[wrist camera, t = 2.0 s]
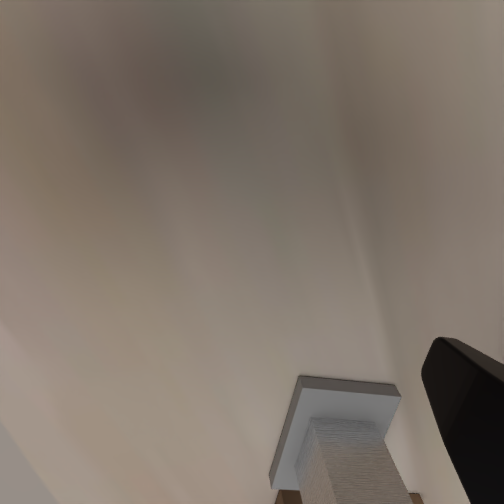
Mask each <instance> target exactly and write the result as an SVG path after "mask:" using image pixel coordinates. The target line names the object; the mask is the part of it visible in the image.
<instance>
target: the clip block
mask: <svg viewBox="0 0 504 504" xmlns="http://www.w3.org/2000/svg"><path fill="white" fill-rule="evenodd" d="M294 468H295V472H296V476H297V481H298V485H299V489H300V494H301V498H302V503H303V504H413V502H412V500H411V498H410V495H409V493H408V491H407V489H406V487H405V485H404V483H403V480H402V478H401V476H400V474H399V472H398V470H397V468H396V466H395V463H394V461H393V459H392V457H391V455H390V453H389V451H388V449H387V446H386V444H385V442H384V440H383V438H382V436H381V434H380V431H379V429H378V427H377V425H376V423H375V422H370V421H358V420H346V419H333V418H321V417H310V420H309V424H308V427H307V430H306V433H305V436H304V439H303V442H302V445H301V448H300V451H299V454H298V457H297V460H296V463H295V466H294Z"/></svg>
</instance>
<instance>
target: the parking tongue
mask: <svg viewBox="0 0 504 504" xmlns="http://www.w3.org/2000/svg"><path fill="white" fill-rule="evenodd" d="M400 399H401V395H400V394H399V392H398V390H397V388H396V387H395V385H386V384H376V383H366V382H355V381H345V380H335V379H324V378H314V377H304V376H299V378H298V381H297V385H296V388H295V391H294V394H293V398H292V401H291V404H290V408H289V411H288V414H287V418H286V421H285V424H284V428H283V431H282V434H281V437H280V441H279V444H278V447H277V451H276V454H275V457H274V461H273V464H272V467H271V470H270V474H269V478H270V484H271V489H282V490H300V489H299V485H298V481H297V476H296V472H295V468H294V466H295V463H296V460H297V457H298V454H299V451H300V448H301V445H302V442H303V439H304V436H305V433H306V430H307V427H308V424H309V420H310V417H321V418H333V419H346V420H358V421H370V422H375V423H376V425H377V427H378V429H379V431H380V434H381V436H382V438H383V440H384V437H385V435H386V433H387V430H388V428H389V426H390V423H391V421H392V418H393V416H394V414H395V411H396V409H397V406H398V404H399V402H400Z"/></svg>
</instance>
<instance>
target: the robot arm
mask: <svg viewBox="0 0 504 504" xmlns="http://www.w3.org/2000/svg"><path fill="white" fill-rule="evenodd" d="M421 376H422V381H423V384H424V387H425V390H426V393H427V396H428V399H429V402H430V405H431V408H432V411H433V414H434V417H435V420H436V422H437V425H438V428H439V431H440V434H441V437H442V440H443V442H444V445H445V447H446V449H447V452H448V454H449V456H450V459H451V461H452V463H453V465H454V468H455V470H456V472H457V474H458V476H459V479H460V481H461V483H462V485H463V488H464V490H465V492H466V494H467V496H468V499H469V501H470V503H471V504H504V364H502V363H500V362H498V361H496V360H494V359H493V358H491V357H489V356H487V355H485V354H483V353H482V352H480V351H478V350H476V349H474V348H472V347H471V346H469V345H467V344H465V343H463V342H461V341H459V340H457V339H454V338H447V337H438V338H436V339H435V340H434V341H433V343H432V345H431V347H430V350H429V352H428V354H427V357H426V359H425V361H424V364H423V366H422V370H421Z"/></svg>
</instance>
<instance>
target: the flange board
mask: <svg viewBox="0 0 504 504" xmlns="http://www.w3.org/2000/svg"><path fill="white" fill-rule="evenodd" d="M409 495H410V498H411V500H412V502H413V504H424V503H423V501H422V499H421V497H420V495H419V494H409ZM275 504H303V503H302V498H301V494H300V490H282V489H280V490H279V493H278V496H277V500H276V503H275Z"/></svg>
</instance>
